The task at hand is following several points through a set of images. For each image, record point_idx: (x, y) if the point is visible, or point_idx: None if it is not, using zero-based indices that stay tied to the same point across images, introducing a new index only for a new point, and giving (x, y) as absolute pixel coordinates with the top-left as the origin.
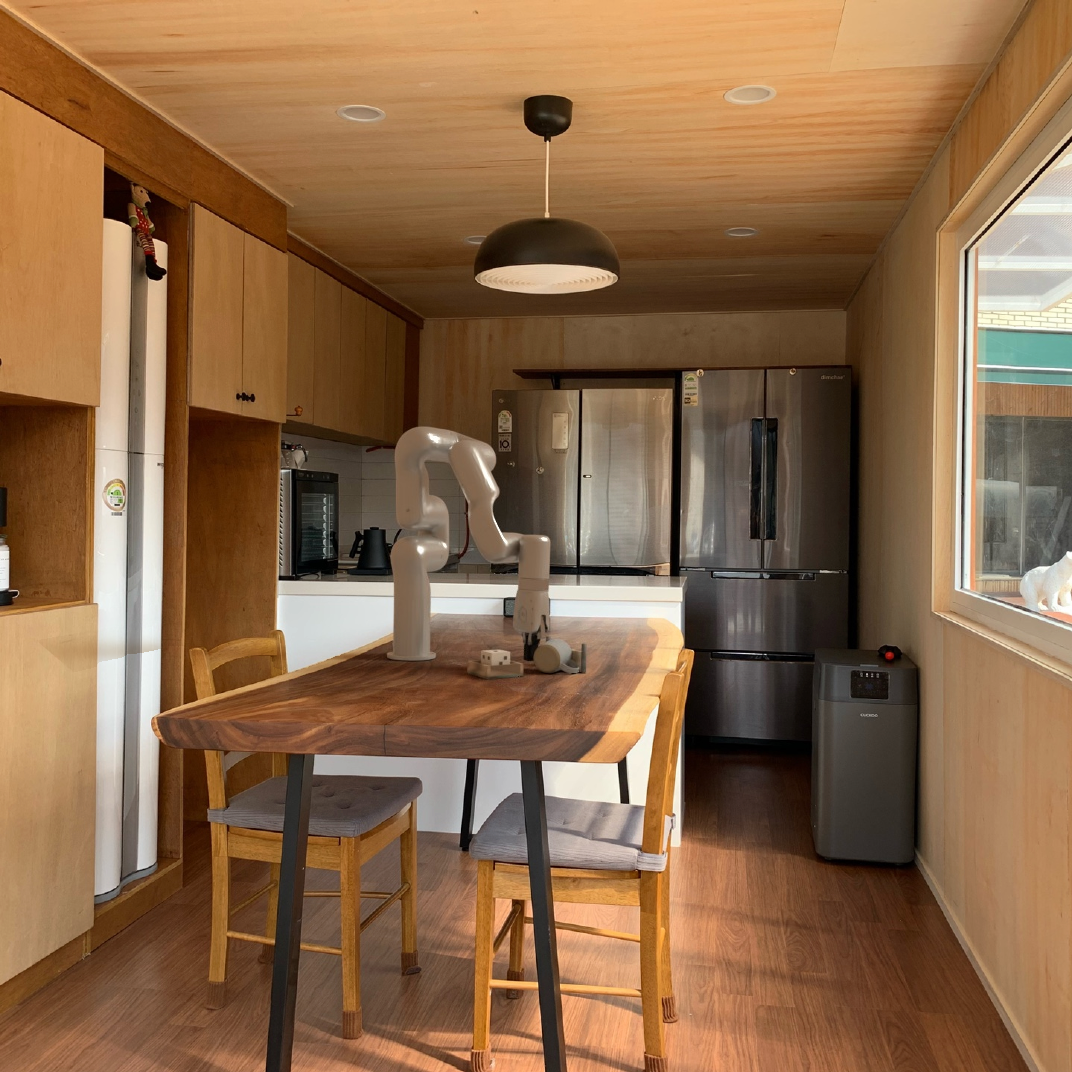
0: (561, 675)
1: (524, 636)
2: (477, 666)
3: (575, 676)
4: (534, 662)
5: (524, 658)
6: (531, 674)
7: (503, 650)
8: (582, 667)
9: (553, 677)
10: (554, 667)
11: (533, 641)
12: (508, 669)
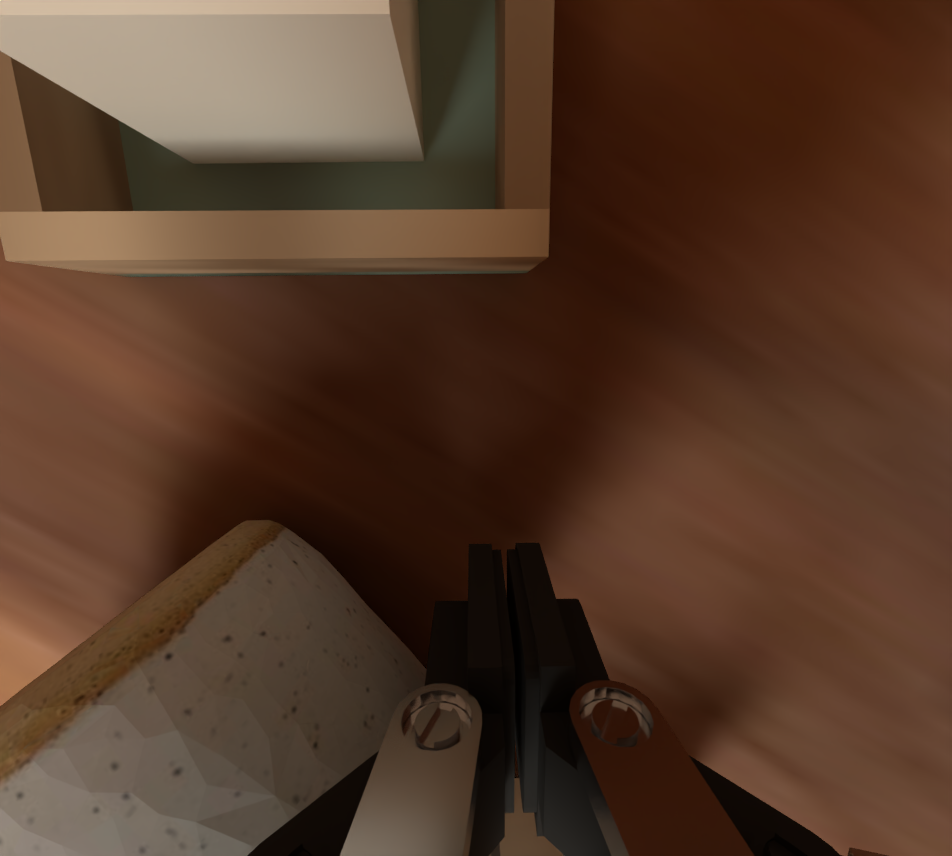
0: (102, 616)
1: (643, 810)
2: None
3: (22, 683)
4: (259, 523)
5: (517, 547)
6: (234, 420)
7: (206, 4)
8: None
9: (12, 506)
10: (107, 623)
11: (354, 782)
12: None
